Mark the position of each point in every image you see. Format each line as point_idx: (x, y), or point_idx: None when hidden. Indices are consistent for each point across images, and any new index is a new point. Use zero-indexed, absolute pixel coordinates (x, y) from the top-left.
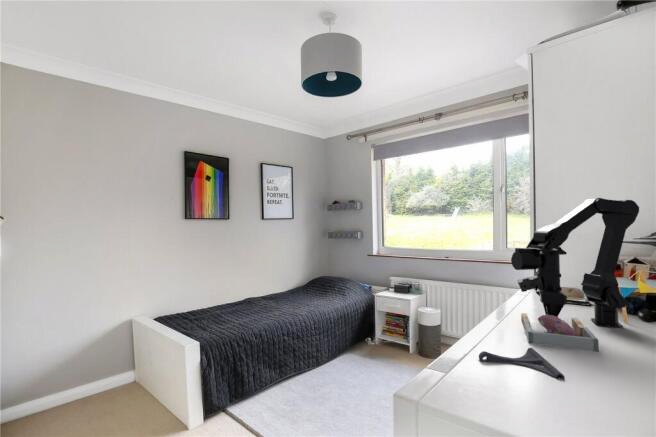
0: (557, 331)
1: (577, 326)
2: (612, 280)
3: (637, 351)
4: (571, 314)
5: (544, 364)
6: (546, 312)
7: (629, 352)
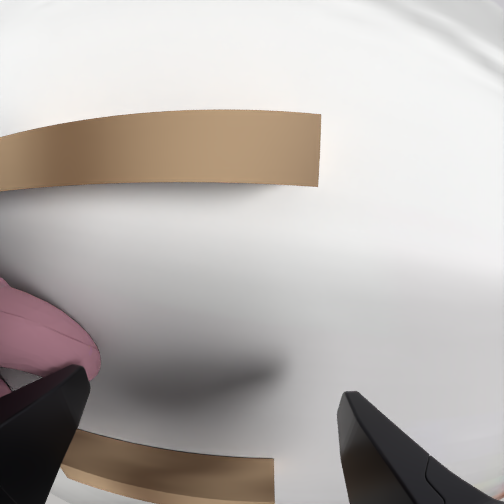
0: None
1: (104, 469)
2: None
3: None
4: (488, 445)
5: None
6: (347, 415)
7: None
